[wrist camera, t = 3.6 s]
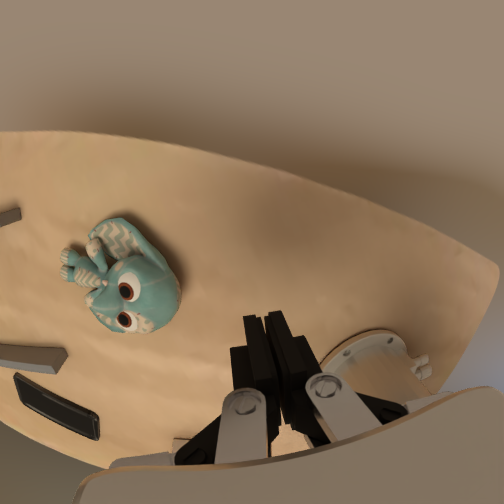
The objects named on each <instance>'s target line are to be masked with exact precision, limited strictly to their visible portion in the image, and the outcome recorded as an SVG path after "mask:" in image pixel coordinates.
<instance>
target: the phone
mask: <svg viewBox="0 0 504 504" xmlns="http://www.w3.org/2000/svg"><path fill="white" fill-rule="evenodd" d="M13 378H14V382H15V385H16V389H17V392H18V395H19V398H20V400H21V402H22V403H23V404H24V405H25V406H27V407H28V408H30V409H32V410H33V411H35V412H37V413H38V414H40V415H42V416H44V417H46V418H47V419H49V420H51V421H53V422H55V423H57V424H59V425H61V426H63V427H65V428H67V429H69V430H71V431H73V432H76V433H78V434H80V435H82V436H85V437H87V438H89V439H92V440H95V441H98V440H99V437H100V427H99V417H98V415H97V414H96V413H94V412H93V411H90V410H88V409H86V408H83V407H81V406H79V405H77V404H75V403H72V402H70V401H68V400H66V399H64V398H62V397H60V396H58V395H56V394H54V393H52V392H50V391H49V390H47V389H45V388H43V387H41V386H40V385H38V384H36V383H34V382H33V381H31V380H29V379H28V378H26V377H24V376H23V375H21V374H19V373H15V375H14V376H13Z"/></svg>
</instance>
